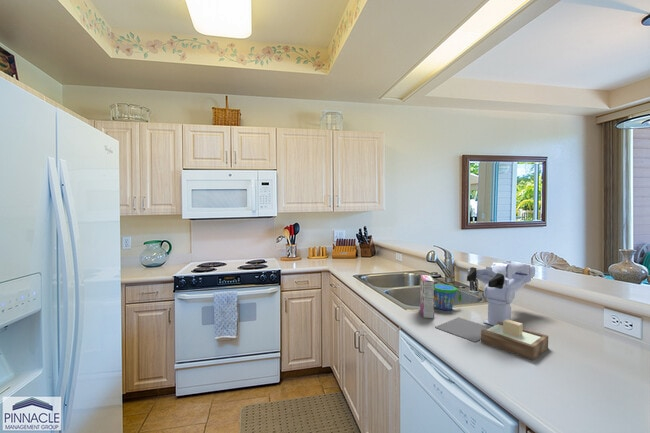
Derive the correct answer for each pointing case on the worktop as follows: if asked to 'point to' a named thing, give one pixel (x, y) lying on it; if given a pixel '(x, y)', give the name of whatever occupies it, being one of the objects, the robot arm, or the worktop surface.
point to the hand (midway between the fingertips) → (478, 281)
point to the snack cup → (445, 296)
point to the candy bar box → (427, 296)
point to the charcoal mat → (463, 328)
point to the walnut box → (516, 343)
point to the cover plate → (523, 338)
